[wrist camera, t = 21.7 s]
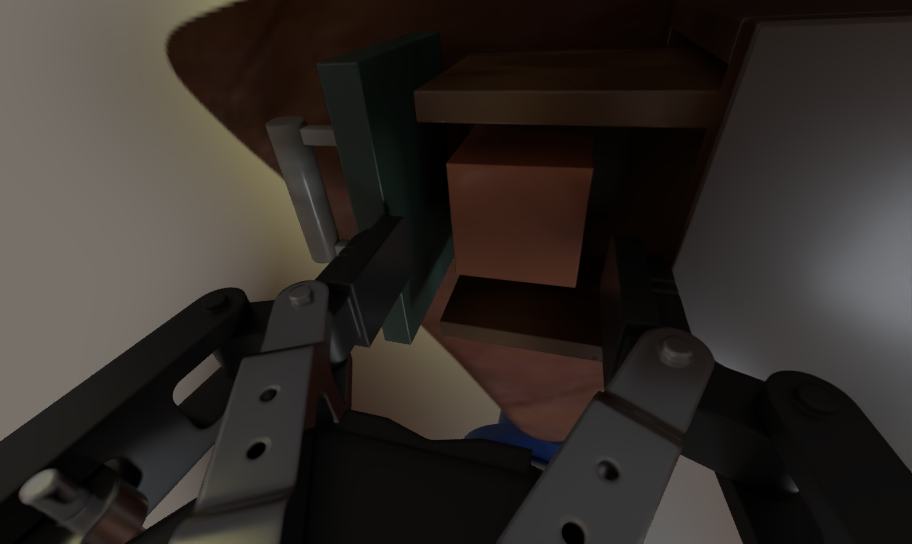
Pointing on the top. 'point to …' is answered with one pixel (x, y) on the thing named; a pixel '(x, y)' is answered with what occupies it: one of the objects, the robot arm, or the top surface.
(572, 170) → the block
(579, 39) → the top surface
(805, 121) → the cabinet
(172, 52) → the top surface
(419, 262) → the drawer
